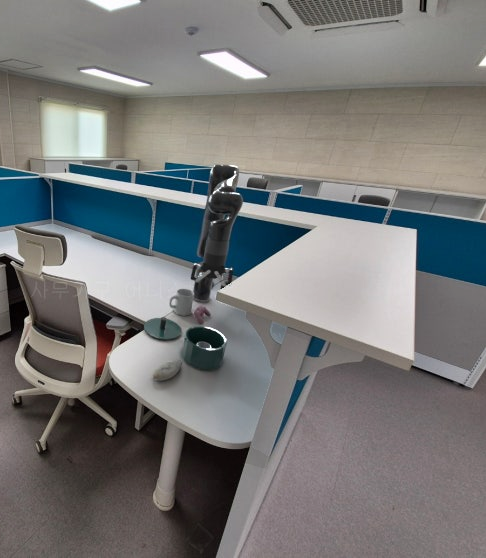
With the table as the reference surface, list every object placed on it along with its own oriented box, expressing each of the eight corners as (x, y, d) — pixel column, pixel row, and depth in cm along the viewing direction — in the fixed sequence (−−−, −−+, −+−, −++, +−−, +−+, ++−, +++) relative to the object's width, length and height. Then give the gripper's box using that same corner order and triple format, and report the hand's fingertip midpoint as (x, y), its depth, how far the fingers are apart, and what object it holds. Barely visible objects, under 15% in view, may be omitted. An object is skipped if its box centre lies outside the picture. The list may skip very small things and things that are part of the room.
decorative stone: (186, 368, 115) (187, 361, 114) (160, 387, 105) (161, 380, 104) (173, 360, 119) (174, 353, 118) (147, 378, 109) (148, 370, 108)
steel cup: (194, 350, 124) (196, 340, 122) (209, 353, 123) (211, 343, 121) (194, 358, 119) (196, 348, 117) (209, 361, 118) (211, 351, 116)
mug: (186, 306, 158) (189, 288, 154) (193, 315, 151) (197, 295, 146) (165, 308, 156) (167, 289, 151) (171, 317, 148) (174, 297, 144)
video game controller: (203, 316, 153) (199, 303, 152) (211, 316, 149) (208, 303, 149) (194, 324, 146) (190, 311, 145) (203, 324, 142) (199, 310, 142)
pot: (183, 341, 130) (186, 323, 126) (221, 349, 126) (225, 330, 122) (180, 365, 116) (183, 345, 113) (222, 374, 113) (227, 353, 109)
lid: (147, 317, 147) (148, 306, 145) (182, 323, 143) (184, 312, 141) (140, 336, 133) (141, 324, 130) (179, 344, 129) (181, 332, 126)
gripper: (236, 250, 107) (227, 290, 114) (195, 245, 110) (189, 285, 117) (238, 257, 100) (228, 299, 107) (194, 251, 104) (188, 293, 110)
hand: (208, 292), depth 112 cm, fingers open, 8 cm apart
